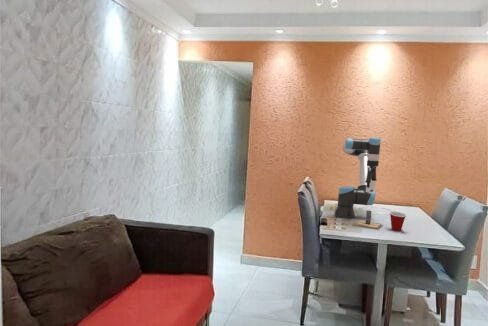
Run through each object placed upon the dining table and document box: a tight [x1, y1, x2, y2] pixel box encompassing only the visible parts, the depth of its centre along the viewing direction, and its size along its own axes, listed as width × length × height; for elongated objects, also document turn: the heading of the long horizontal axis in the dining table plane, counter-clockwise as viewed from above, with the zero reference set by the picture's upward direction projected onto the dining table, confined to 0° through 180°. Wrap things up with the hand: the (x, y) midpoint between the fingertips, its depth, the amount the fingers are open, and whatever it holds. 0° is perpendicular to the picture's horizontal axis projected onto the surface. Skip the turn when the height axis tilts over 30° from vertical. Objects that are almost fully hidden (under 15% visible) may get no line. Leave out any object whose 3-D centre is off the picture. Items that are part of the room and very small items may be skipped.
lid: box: [353, 210, 382, 230], centre depth 291 cm, size 15×15×10 cm
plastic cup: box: [389, 211, 407, 232], centre depth 282 cm, size 11×11×12 cm
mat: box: [351, 220, 384, 231], centre depth 292 cm, size 18×18×1 cm
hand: (370, 191), depth 289 cm, fingers open, 13 cm apart
